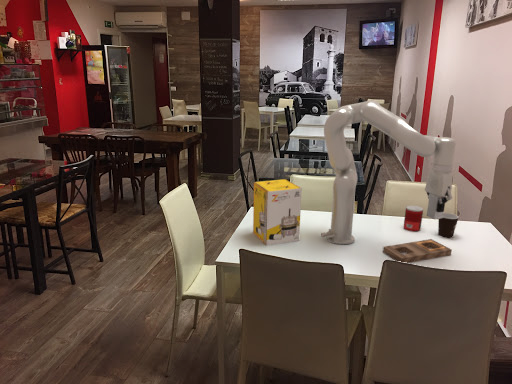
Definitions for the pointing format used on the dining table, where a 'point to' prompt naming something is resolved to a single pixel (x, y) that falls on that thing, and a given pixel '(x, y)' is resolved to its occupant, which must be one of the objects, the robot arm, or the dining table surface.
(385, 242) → the dining table surface
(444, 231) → the coffee mug
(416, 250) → the socket board
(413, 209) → the canned food
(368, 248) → the dining table surface
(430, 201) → the metal block
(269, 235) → the packaging box
